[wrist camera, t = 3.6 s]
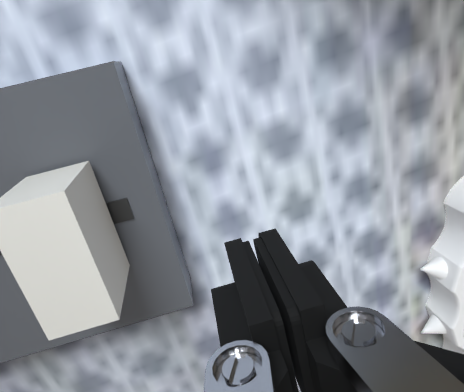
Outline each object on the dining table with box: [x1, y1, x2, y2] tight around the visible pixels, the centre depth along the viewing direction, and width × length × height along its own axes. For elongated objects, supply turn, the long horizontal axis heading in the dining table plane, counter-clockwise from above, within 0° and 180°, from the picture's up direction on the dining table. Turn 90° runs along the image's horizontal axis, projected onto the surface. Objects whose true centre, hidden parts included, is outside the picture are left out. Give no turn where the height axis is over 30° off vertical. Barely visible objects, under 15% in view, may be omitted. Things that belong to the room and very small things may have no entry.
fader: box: [0, 161, 130, 340], centre depth 16 cm, size 6×3×4 cm, turn 13°
